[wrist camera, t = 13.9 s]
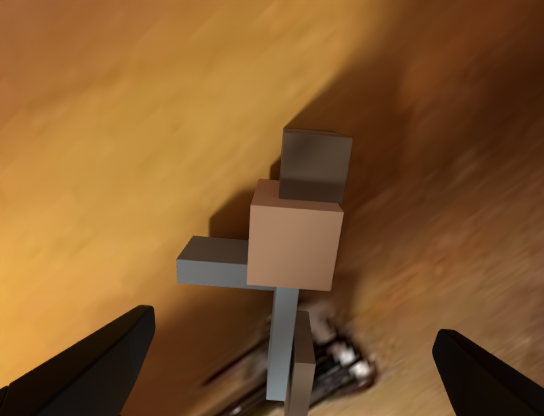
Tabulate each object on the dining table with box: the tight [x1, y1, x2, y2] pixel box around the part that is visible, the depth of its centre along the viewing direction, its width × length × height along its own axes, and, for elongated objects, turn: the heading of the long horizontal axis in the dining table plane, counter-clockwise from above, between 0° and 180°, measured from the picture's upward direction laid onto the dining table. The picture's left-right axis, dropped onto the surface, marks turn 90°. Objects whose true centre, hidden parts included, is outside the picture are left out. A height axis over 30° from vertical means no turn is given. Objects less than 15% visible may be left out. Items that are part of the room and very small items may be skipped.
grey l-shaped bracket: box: [176, 236, 299, 401], centre depth 18 cm, size 10×7×4 cm
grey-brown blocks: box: [279, 128, 353, 416], centre depth 17 cm, size 20×3×4 cm, turn 176°
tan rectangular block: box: [247, 179, 344, 291], centre depth 15 cm, size 4×4×5 cm
